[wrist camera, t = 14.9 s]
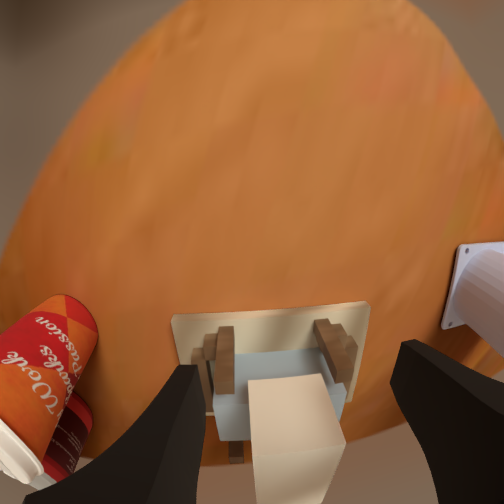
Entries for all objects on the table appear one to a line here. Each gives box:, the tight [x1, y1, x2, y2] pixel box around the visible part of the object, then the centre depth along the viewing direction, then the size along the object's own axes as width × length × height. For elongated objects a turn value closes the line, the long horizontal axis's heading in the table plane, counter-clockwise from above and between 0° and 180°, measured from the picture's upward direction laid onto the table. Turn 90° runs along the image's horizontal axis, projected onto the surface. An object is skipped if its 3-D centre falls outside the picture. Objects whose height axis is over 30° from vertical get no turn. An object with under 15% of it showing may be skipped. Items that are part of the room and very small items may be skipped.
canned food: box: [28, 391, 93, 490], centre depth 17 cm, size 8×8×11 cm
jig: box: [171, 301, 371, 464], centre depth 18 cm, size 14×10×6 cm
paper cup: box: [0, 294, 98, 484], centre depth 13 cm, size 8×8×14 cm
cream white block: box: [248, 373, 346, 504], centre depth 13 cm, size 8×4×5 cm, turn 2°
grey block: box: [213, 347, 347, 441], centre depth 18 cm, size 8×4×5 cm, turn 92°
